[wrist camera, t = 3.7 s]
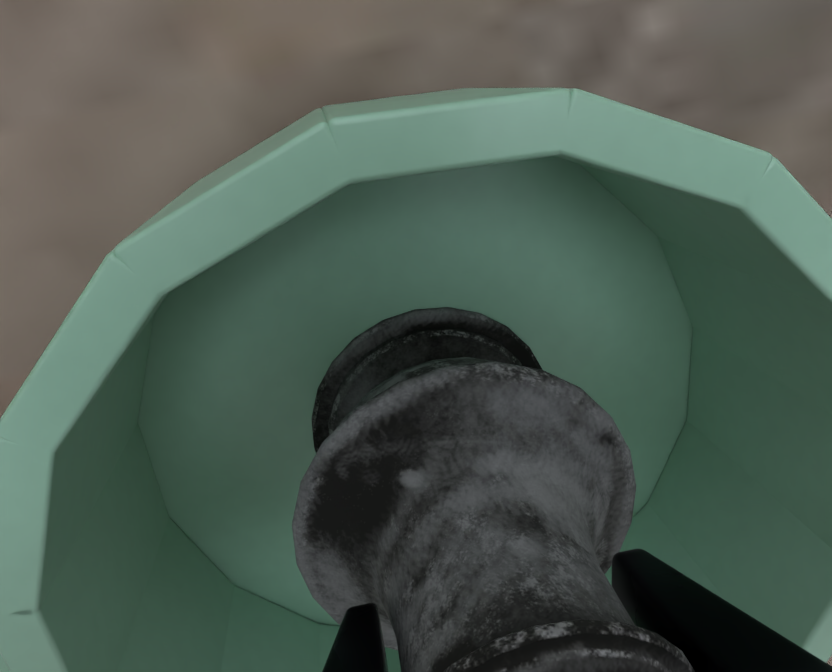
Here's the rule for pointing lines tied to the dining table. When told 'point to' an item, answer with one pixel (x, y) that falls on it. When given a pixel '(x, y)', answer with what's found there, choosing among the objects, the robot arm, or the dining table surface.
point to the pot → (395, 294)
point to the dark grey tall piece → (470, 504)
